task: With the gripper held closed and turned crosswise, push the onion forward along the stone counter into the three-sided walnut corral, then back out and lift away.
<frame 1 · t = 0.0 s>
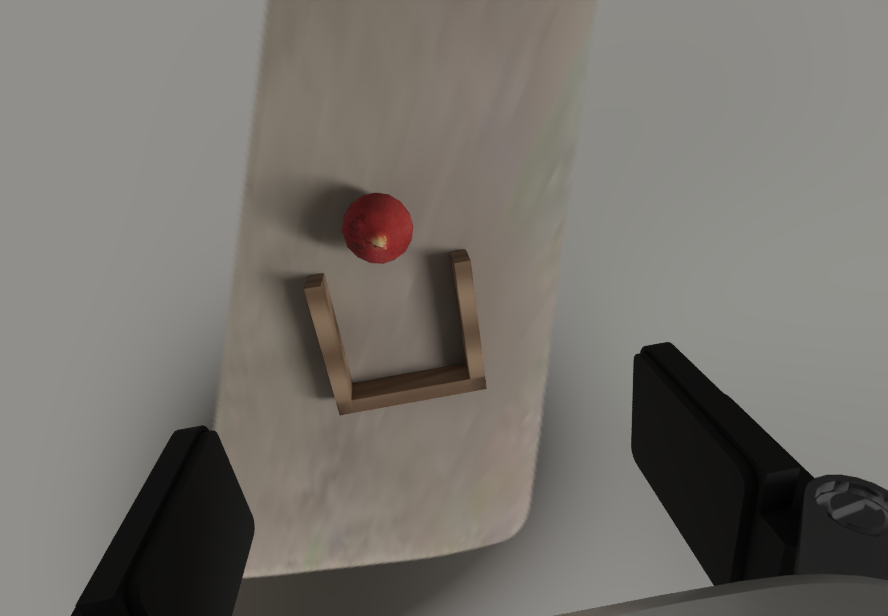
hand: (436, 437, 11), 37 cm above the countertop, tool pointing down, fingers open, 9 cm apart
corral: (400, 327, 51), on the countertop
onion: (378, 216, 47), on the countertop
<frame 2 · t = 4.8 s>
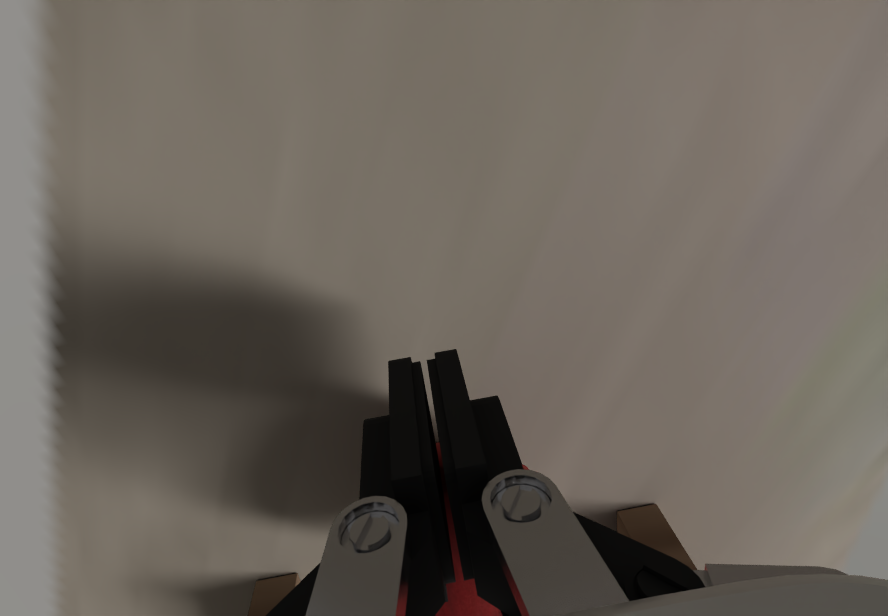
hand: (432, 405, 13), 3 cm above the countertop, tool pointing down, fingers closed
onion: (443, 455, 17), on the countertop, touching gripper
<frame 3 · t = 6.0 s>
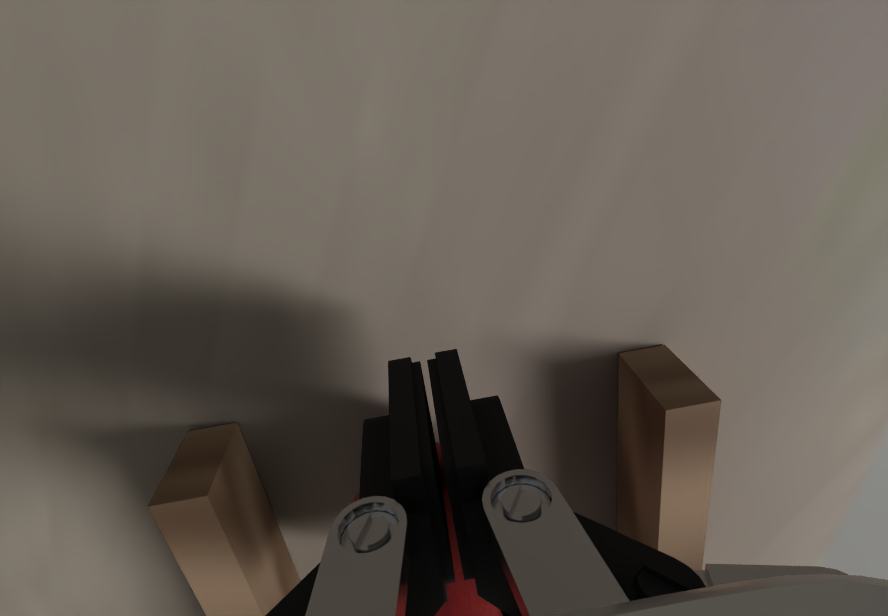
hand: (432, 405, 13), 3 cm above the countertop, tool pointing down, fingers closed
corral: (459, 543, 19), on the countertop
onion: (434, 456, 17), on the countertop, touching gripper
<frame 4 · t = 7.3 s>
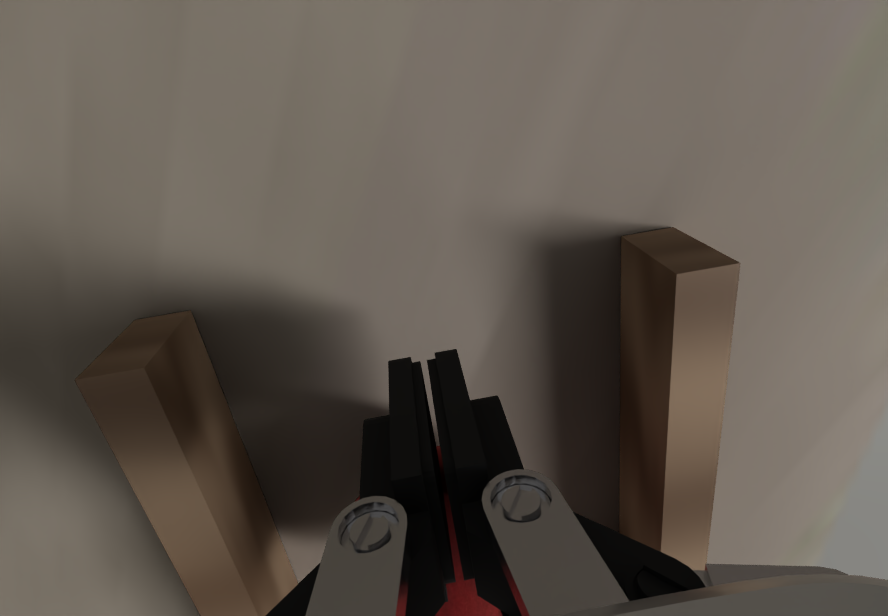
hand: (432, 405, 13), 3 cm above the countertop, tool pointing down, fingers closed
corral: (444, 466, 17), on the countertop
onion: (435, 460, 17), on the countertop, touching gripper
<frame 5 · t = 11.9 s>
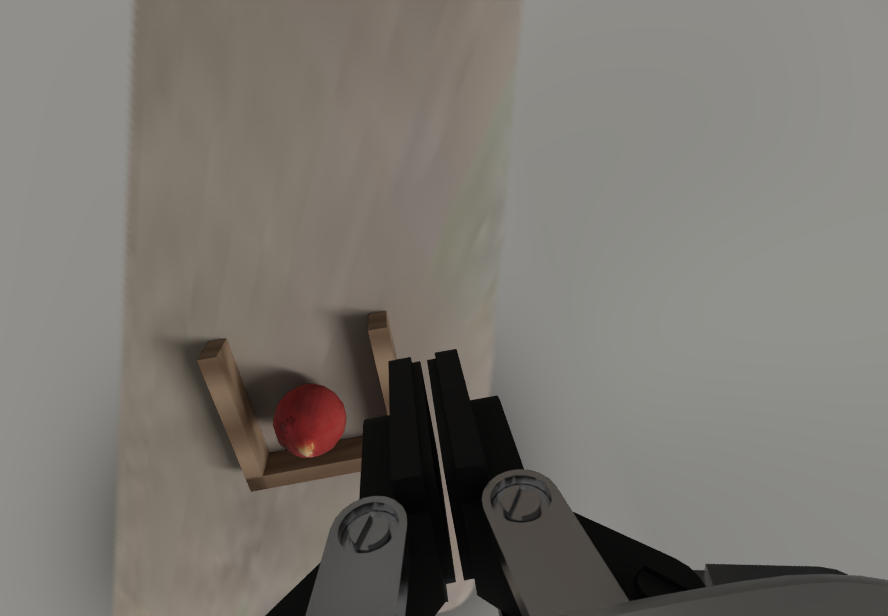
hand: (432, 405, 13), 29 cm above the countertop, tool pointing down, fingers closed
corral: (318, 394, 46), on the countertop
onion: (315, 392, 46), on the countertop
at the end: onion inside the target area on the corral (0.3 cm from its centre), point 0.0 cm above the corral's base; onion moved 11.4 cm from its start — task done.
